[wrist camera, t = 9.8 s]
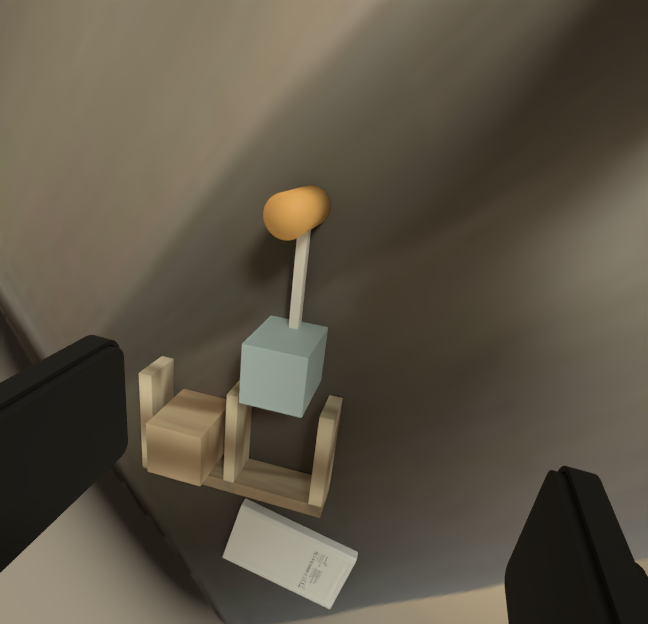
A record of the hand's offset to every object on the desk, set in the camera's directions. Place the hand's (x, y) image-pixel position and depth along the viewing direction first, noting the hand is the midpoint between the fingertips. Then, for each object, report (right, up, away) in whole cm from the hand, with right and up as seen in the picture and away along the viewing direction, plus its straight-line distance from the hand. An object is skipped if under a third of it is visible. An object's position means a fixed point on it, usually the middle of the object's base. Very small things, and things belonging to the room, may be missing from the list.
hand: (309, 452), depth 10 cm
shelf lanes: (-7, -7, +32) cm, 34 cm away
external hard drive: (-3, -22, +37) cm, 43 cm away
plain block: (-11, -7, +33) cm, 36 cm away
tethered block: (-1, +5, +27) cm, 27 cm away
